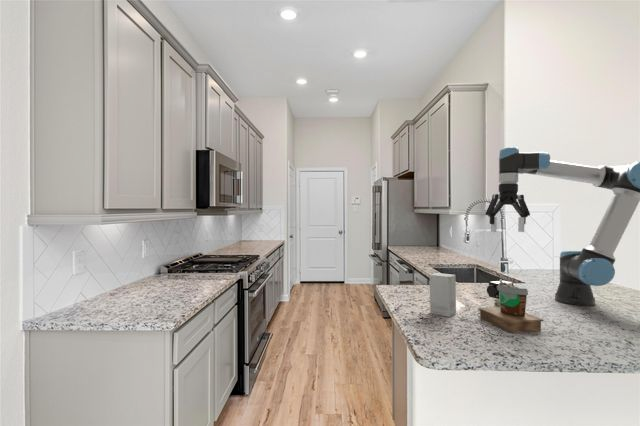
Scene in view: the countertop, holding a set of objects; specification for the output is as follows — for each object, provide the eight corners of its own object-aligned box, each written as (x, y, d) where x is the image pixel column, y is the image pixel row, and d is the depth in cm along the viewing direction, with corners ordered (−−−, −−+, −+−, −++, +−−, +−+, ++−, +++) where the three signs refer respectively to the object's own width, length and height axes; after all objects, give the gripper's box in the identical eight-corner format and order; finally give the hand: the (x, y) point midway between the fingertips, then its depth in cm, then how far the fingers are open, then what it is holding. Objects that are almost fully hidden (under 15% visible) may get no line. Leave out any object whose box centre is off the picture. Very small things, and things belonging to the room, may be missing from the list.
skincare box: (456, 314, 144) (457, 274, 144) (449, 317, 139) (449, 276, 139) (436, 310, 149) (436, 272, 149) (428, 313, 144) (429, 274, 144)
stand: (508, 316, 141) (508, 306, 141) (543, 331, 124) (543, 319, 124) (478, 318, 139) (478, 307, 139) (509, 333, 122) (509, 321, 122)
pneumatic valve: (515, 308, 154) (515, 279, 154) (495, 310, 149) (495, 281, 149) (503, 304, 159) (504, 277, 159) (484, 307, 154) (484, 279, 154)
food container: (489, 308, 137) (490, 282, 137) (504, 308, 138) (505, 281, 138) (511, 318, 125) (511, 289, 125) (527, 317, 126) (528, 288, 126)
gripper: (527, 184, 166) (526, 231, 166) (477, 183, 162) (476, 231, 162) (539, 183, 159) (539, 232, 159) (488, 182, 154) (487, 232, 154)
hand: (507, 232), depth 160 cm, fingers open, 13 cm apart
